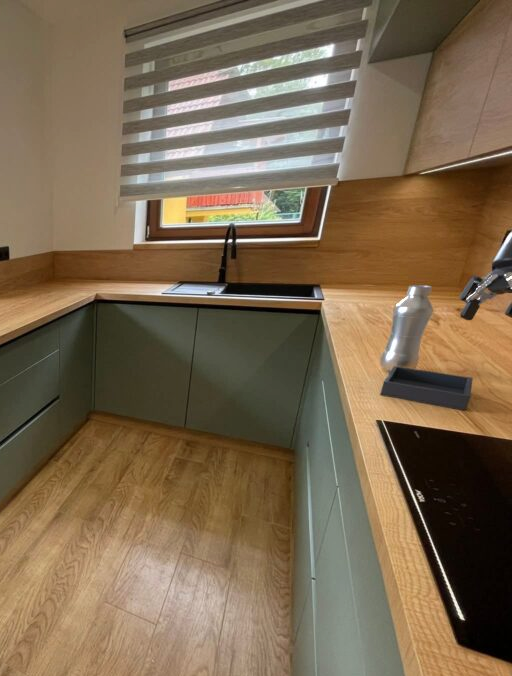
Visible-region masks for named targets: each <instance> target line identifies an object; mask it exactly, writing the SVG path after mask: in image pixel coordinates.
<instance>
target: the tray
mask: <svg viewBox="0 0 512 676" xmlns="http://www.w3.org/2000/svg"><path fill="white" fill-rule="evenodd" d="M473 379H474V378H473V377H470V376H463V375H456V374H448V373H444V372H443V373H442V372H436V371H429V370H422V369H417V368H415V369H410V368H403V367H396V366H393V368H392V370H391V371H390V370H389V372H388V375H386V377H385V379H384V380H383V384H382V386H381V390H380V394H379V395H380V396H384V397H390V398H395V399H400V400H406V401H412V402H417V403H421V404H427V405H432V406H438V407H443V408H448V409H454V410H459V411H463V412H464V411H466V409H467V407H468V404H469V401H470V399H471V396H472V387H473Z"/></svg>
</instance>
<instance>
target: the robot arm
mask: <svg viewBox="0 0 512 676" xmlns="http://www.w3.org/2000/svg"><path fill="white" fill-rule="evenodd" d="M486 289H487V290H488V291H489V292H488V291H486ZM505 294H512V230H511V231H510V232H509V234H508V235H507V236H506V238H505V240H504V241H503V242H502V245H501V246H500V248H499V250H498V252H497V254H496V255H495V257H494V259H493V260H492V262H491V272H490V273H489V274H487V275H486V276H481V277H480V276H478V275H473V276H472V277H471V278H470V279H469V281H468V283H467V284H466V286H465V287H464V289H463V290H462V292H461V294H460V295H459V297H458V300H459V301H462V302H464V303H465V304H464V307H463V309H461V312H460V313H459V315H460V318H462V319H463V320H465V321H473V319H474V317H475V315H476V314H477V312H478V311H479V309H480V307H481V305H482V304H483V303H484V302H485V301H488V300H490V299H493V298H495V297H497V296H498V295H505ZM478 297H479V298H478ZM477 298H478V299H477ZM504 315H505V316H506V317H509V318H510V319H512V301H510V303H509V305H508V306H507V308H506V310H505V312H504Z"/></svg>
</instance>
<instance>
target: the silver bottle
mask: <svg viewBox="0 0 512 676" xmlns="http://www.w3.org/2000/svg"><path fill="white" fill-rule="evenodd" d="M432 287H433V286H432V285H431V286H430V285H419V284H417V285H416V284H415V285H414V284H411V285H409V286H408V288H407V291H406V297H404V298H403V299H402V300H400V301H399V302H398V303H396V305H395V306H394V308H393V312H392V324H391V330H390V335H389V337H388V341H387V343H386V346H385V349H384V350H383V351H382V354H381V356H380V359H379V360H380V361H379V365H380V367H381V368H382V369H383V370H386V371H389V372H390V371H391V370H392V368H393V366H396V367H403V368H410V369H417V366H418V364H419V360H420V354H419V353H420V347H421V342H422V339H423V334H424V333H425V330H426V328H427V326H428V324H429V321H430V319H431V317H432V316H433V313H434V306H433V305H432V303H431V301H430V299H429V296H431V292H432Z"/></svg>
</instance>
